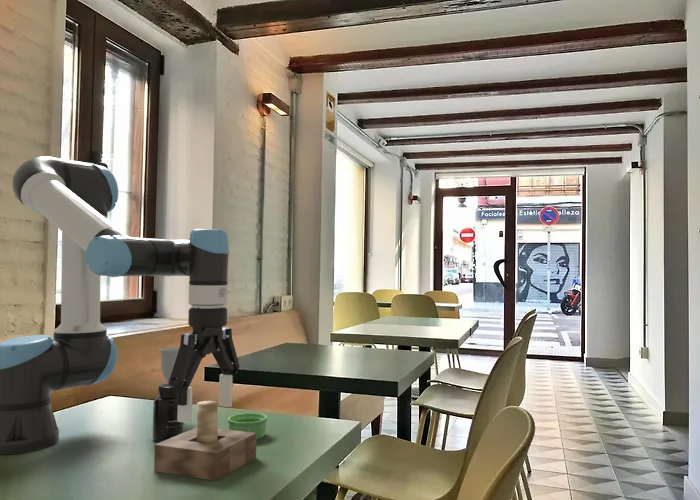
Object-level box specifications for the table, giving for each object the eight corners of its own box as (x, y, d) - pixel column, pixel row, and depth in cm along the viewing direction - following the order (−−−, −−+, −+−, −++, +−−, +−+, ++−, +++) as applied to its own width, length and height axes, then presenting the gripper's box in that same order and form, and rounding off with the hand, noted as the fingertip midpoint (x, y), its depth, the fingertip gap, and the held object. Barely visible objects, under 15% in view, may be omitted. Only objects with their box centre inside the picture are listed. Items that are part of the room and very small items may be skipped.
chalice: (158, 417, 152) (159, 347, 152) (185, 415, 154) (186, 346, 154) (158, 424, 145) (159, 351, 145) (186, 421, 147) (187, 350, 147)
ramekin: (220, 440, 131) (220, 420, 131) (239, 429, 140) (239, 411, 140) (256, 443, 129) (256, 423, 129) (273, 432, 137) (273, 414, 137)
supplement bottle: (174, 443, 129) (175, 388, 129) (146, 441, 130) (147, 387, 130) (189, 434, 135) (189, 383, 136) (162, 433, 137) (163, 381, 137)
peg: (192, 466, 113) (192, 404, 114) (204, 459, 117) (204, 400, 117) (209, 468, 112) (209, 406, 112) (221, 462, 116) (221, 401, 116)
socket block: (154, 471, 110) (154, 444, 111) (198, 450, 124) (199, 426, 124) (216, 480, 105) (216, 452, 106) (256, 457, 118) (256, 432, 119)
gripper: (184, 311, 103) (181, 432, 102) (256, 303, 126) (255, 401, 125) (150, 309, 105) (147, 427, 105) (227, 302, 129) (225, 398, 128)
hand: (206, 413), depth 115 cm, fingers open, 13 cm apart
